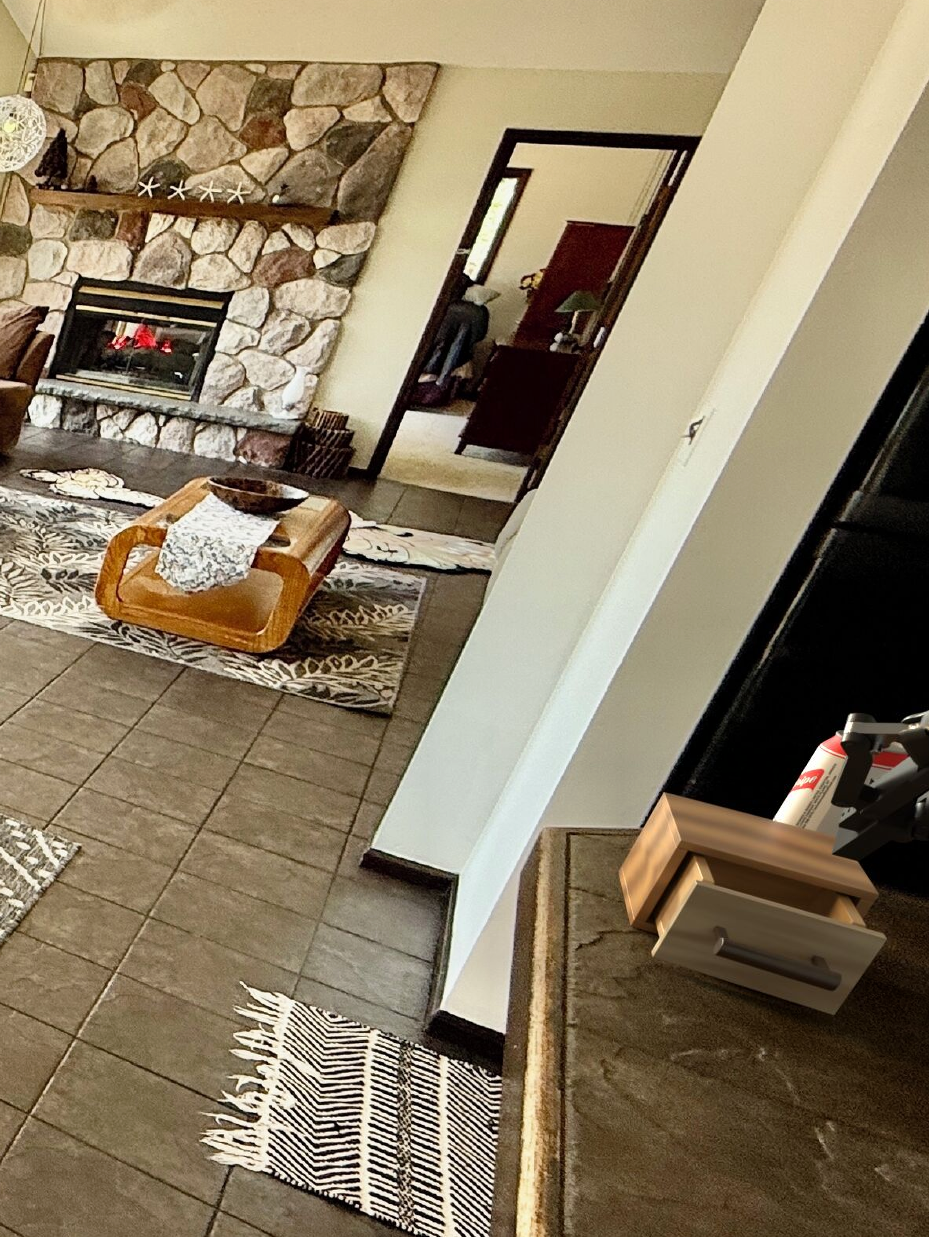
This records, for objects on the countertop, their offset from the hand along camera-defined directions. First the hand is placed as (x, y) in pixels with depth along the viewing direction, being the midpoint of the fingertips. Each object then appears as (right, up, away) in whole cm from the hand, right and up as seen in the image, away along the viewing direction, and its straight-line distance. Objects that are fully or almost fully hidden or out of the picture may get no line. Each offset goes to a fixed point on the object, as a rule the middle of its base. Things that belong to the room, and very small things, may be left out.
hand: (848, 843), depth 94 cm
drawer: (+4, -12, +11) cm, 17 cm away
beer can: (+32, -7, +31) cm, 45 cm away
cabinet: (+11, -10, +20) cm, 25 cm away
